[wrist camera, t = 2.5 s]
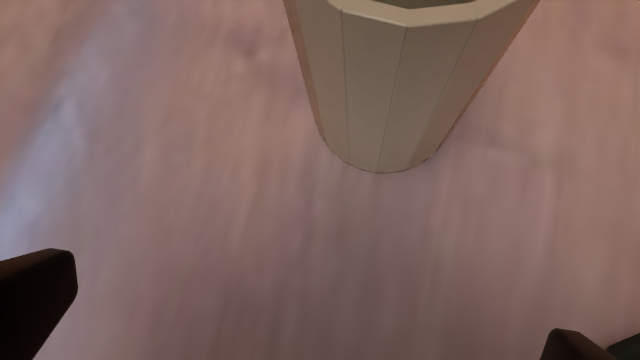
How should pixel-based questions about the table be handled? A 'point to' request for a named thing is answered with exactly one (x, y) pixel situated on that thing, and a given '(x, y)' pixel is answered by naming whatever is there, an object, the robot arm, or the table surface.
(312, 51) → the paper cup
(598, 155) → the table surface
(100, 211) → the table surface
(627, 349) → the mug
